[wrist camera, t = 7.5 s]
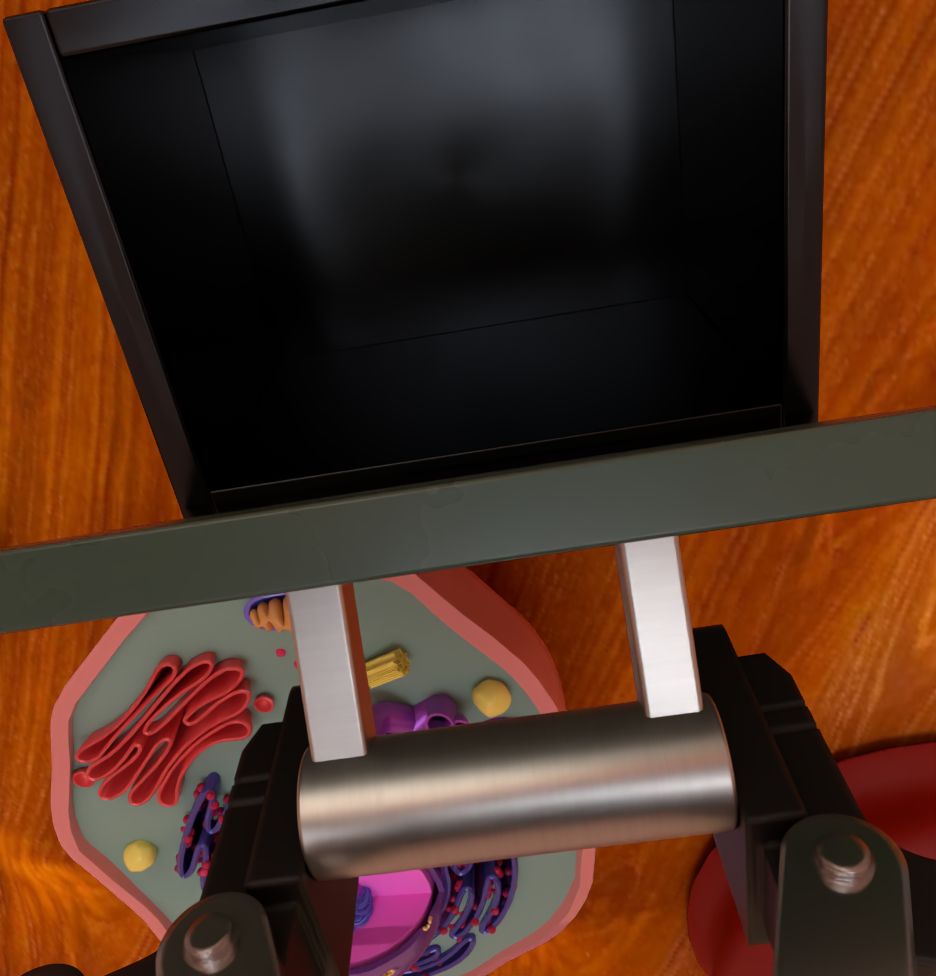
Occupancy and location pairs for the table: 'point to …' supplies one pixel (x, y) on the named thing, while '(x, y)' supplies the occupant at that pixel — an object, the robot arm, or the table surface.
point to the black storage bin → (441, 227)
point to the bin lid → (473, 541)
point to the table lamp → (885, 804)
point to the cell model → (261, 700)
